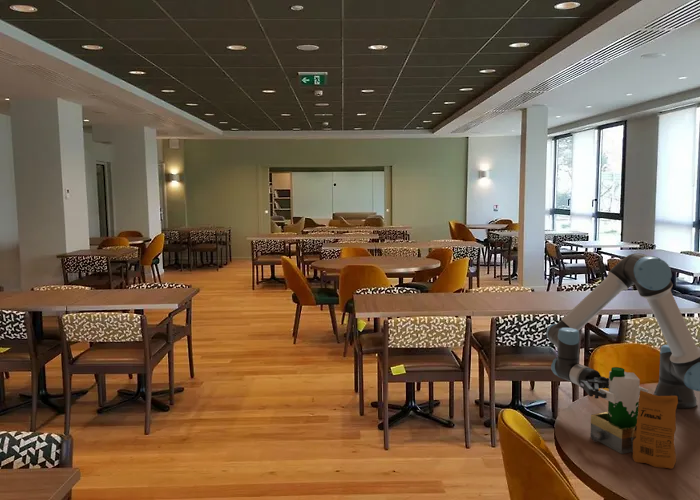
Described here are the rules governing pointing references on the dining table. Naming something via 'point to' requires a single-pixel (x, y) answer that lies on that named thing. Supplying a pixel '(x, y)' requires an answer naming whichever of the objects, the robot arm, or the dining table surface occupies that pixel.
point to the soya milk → (623, 398)
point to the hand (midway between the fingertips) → (631, 396)
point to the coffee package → (655, 430)
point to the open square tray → (611, 433)
